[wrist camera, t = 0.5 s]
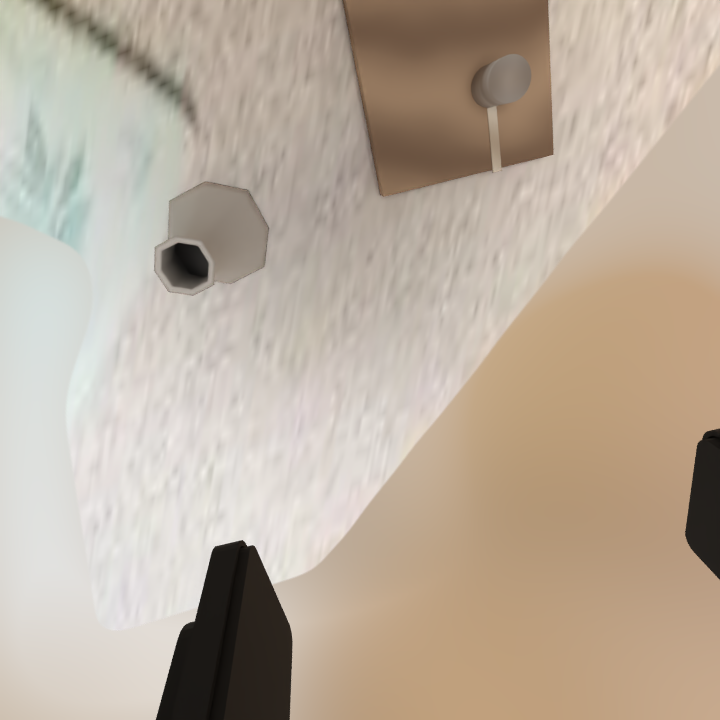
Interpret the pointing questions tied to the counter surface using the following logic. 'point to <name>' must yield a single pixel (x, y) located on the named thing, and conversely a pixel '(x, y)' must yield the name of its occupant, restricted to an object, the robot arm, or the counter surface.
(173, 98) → the counter surface
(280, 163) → the counter surface
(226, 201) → the flask
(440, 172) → the hub board
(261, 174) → the counter surface
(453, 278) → the counter surface
